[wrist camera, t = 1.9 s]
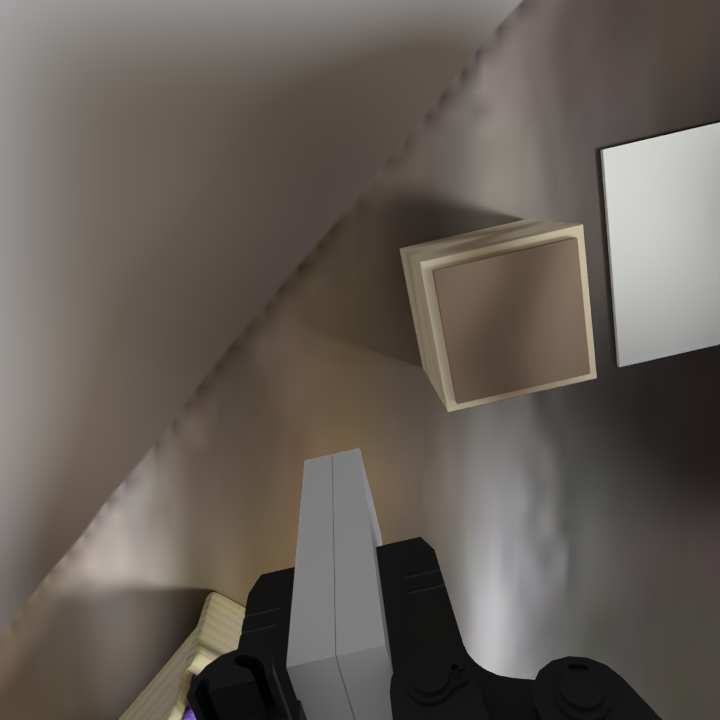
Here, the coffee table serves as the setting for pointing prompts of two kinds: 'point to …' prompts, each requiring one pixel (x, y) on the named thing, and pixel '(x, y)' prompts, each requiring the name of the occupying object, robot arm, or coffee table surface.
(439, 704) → the robot arm
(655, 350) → the grey mat
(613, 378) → the coffee table surface
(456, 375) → the maple cube
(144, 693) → the toy sofa
